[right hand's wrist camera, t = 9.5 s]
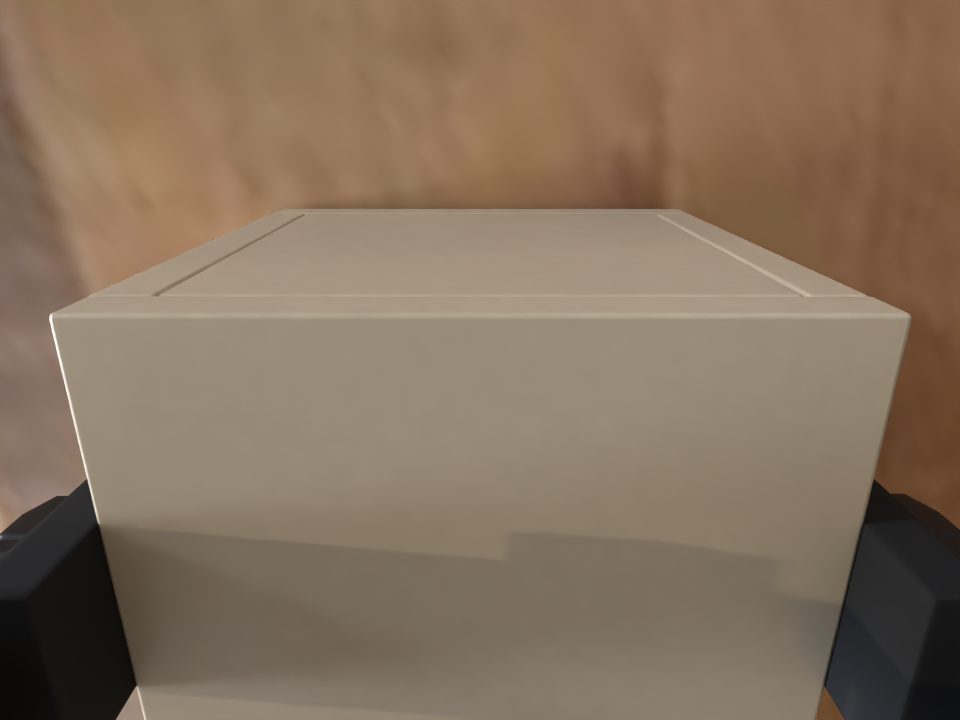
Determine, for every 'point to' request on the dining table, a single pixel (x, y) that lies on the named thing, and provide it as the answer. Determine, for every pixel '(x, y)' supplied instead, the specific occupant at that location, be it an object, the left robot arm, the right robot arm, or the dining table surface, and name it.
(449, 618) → the cabinet
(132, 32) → the dining table surface
